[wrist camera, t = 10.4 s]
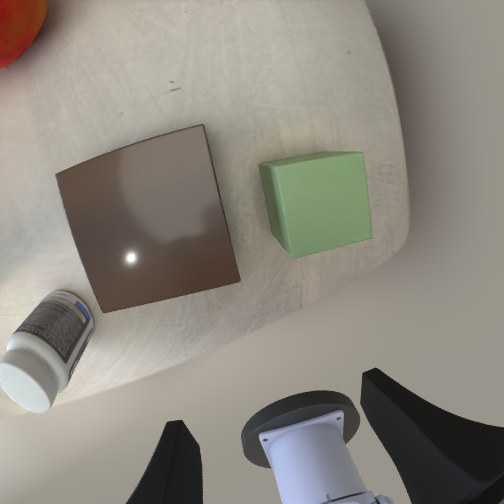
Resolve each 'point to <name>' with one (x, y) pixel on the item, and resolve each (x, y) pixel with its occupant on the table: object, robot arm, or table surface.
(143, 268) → the walnut base
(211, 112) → the table surface
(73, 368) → the pill bottle
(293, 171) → the green block
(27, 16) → the apple
